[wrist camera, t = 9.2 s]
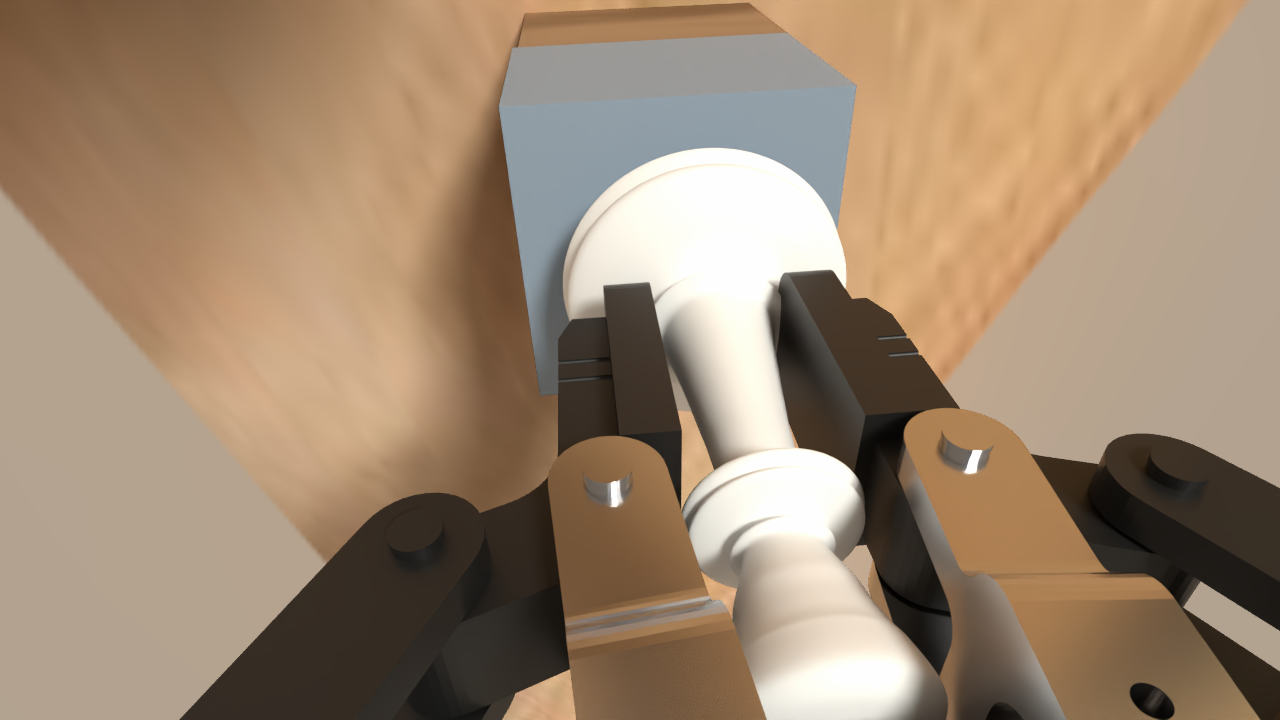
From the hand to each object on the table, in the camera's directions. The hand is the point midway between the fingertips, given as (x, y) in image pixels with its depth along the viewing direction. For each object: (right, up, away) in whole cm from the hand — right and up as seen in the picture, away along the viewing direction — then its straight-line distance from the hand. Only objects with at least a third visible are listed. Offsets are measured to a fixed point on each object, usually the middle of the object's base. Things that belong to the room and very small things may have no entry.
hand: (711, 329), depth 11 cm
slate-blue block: (-1, +4, +6) cm, 7 cm away
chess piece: (0, +1, +2) cm, 2 cm away
